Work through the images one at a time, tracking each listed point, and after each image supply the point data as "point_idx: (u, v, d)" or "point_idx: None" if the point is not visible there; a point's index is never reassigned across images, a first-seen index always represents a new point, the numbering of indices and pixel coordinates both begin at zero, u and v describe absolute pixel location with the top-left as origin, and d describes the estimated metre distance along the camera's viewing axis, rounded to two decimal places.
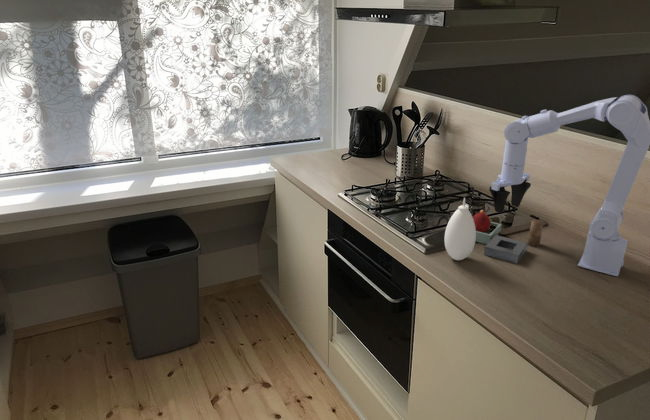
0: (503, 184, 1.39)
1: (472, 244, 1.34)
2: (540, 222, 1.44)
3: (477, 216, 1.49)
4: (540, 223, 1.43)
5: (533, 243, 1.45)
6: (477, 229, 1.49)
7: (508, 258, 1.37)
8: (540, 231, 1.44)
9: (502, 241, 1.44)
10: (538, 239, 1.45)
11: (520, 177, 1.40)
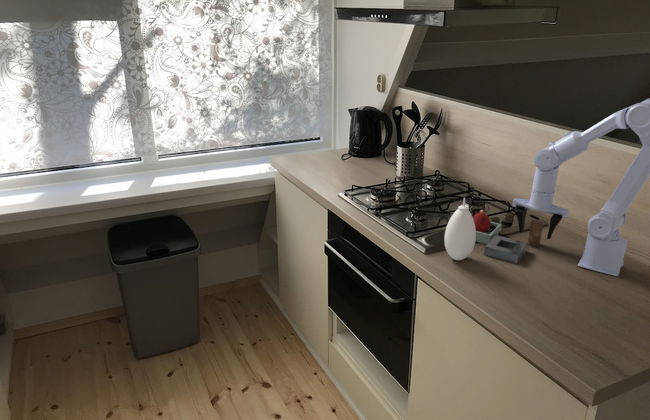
0: (519, 202, 1.44)
1: (472, 244, 1.34)
2: (540, 222, 1.44)
3: (477, 216, 1.49)
4: (540, 223, 1.43)
5: (533, 243, 1.45)
6: (477, 229, 1.49)
7: (508, 258, 1.37)
8: (540, 231, 1.44)
9: (502, 241, 1.44)
10: (538, 239, 1.45)
11: (537, 204, 1.40)
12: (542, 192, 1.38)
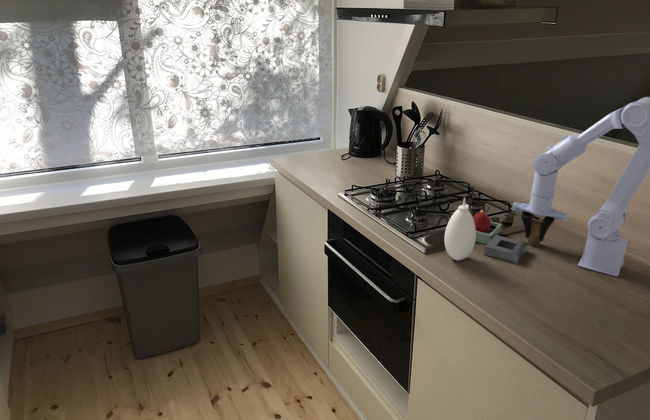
0: (519, 207, 1.45)
1: (472, 244, 1.34)
2: (540, 222, 1.44)
3: (477, 216, 1.49)
4: (540, 223, 1.43)
5: (533, 243, 1.45)
6: (477, 229, 1.49)
7: (508, 258, 1.37)
8: (540, 231, 1.44)
9: (502, 241, 1.44)
10: (538, 239, 1.45)
11: (537, 208, 1.40)
12: (541, 196, 1.38)
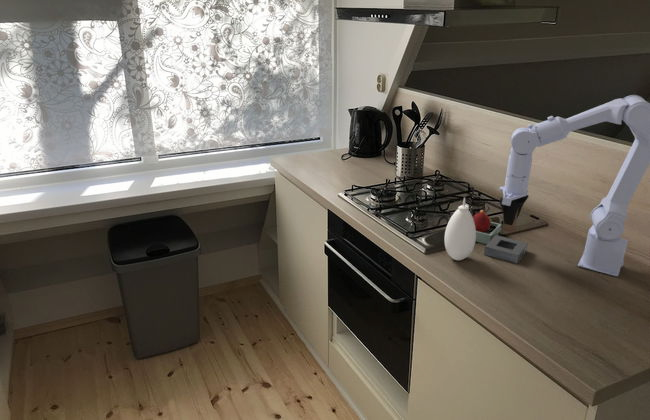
0: (514, 198, 1.30)
1: (472, 244, 1.34)
2: None
3: (477, 216, 1.49)
4: None
5: None
6: (477, 229, 1.49)
7: (508, 258, 1.37)
8: None
9: (502, 241, 1.44)
10: None
11: (526, 188, 1.33)
12: (522, 177, 1.30)
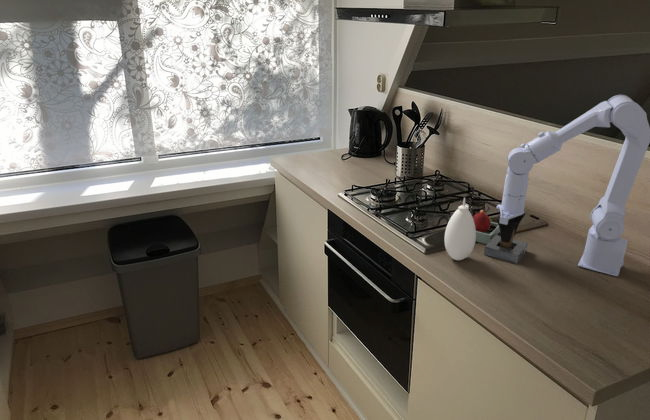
0: (511, 217, 1.32)
1: (472, 244, 1.34)
2: None
3: (477, 216, 1.49)
4: None
5: None
6: (477, 229, 1.49)
7: (508, 258, 1.37)
8: None
9: None
10: None
11: (523, 207, 1.35)
12: (518, 196, 1.32)
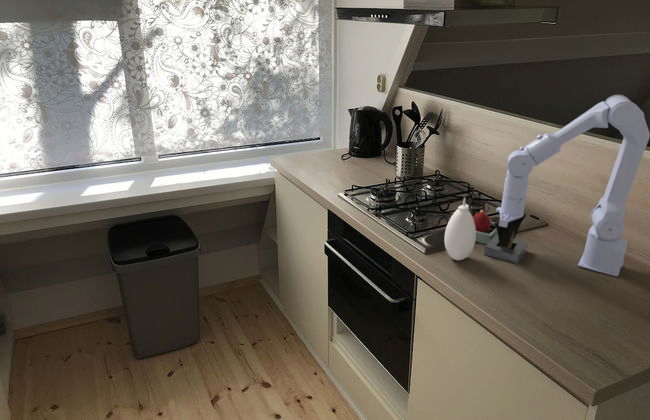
0: (510, 219, 1.33)
1: (472, 244, 1.34)
2: None
3: (477, 216, 1.49)
4: None
5: None
6: (477, 229, 1.49)
7: (508, 258, 1.37)
8: None
9: None
10: None
11: (523, 210, 1.35)
12: (518, 199, 1.33)
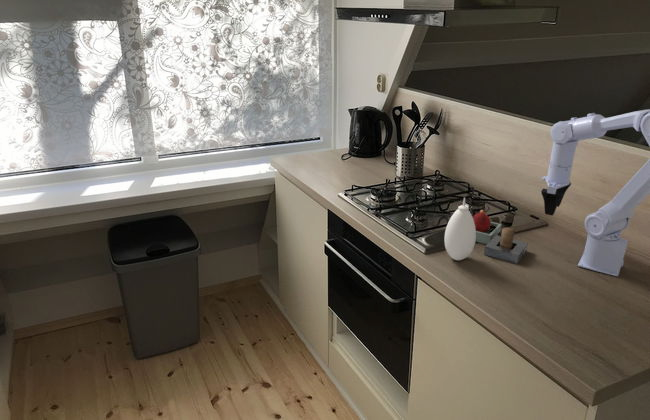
0: (558, 186, 1.37)
1: (472, 244, 1.34)
2: (508, 228, 1.40)
3: (477, 216, 1.49)
4: (511, 229, 1.40)
5: None
6: (477, 229, 1.49)
7: (508, 258, 1.37)
8: None
9: None
10: None
11: (569, 177, 1.39)
12: (557, 165, 1.38)
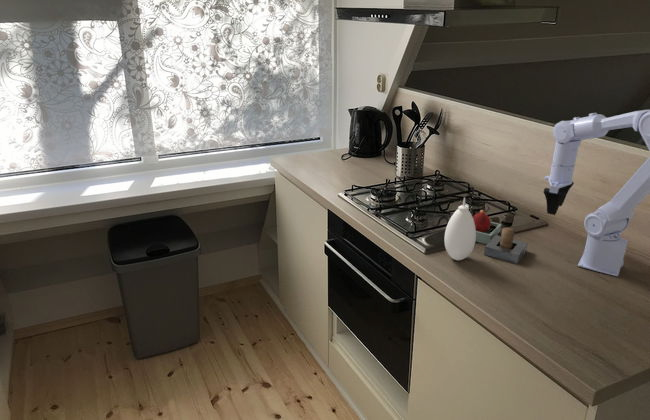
0: (561, 186, 1.37)
1: (472, 244, 1.34)
2: (508, 228, 1.40)
3: (477, 216, 1.49)
4: (511, 229, 1.40)
5: None
6: (477, 229, 1.49)
7: (508, 258, 1.37)
8: None
9: None
10: None
11: (571, 177, 1.40)
12: (559, 165, 1.38)
